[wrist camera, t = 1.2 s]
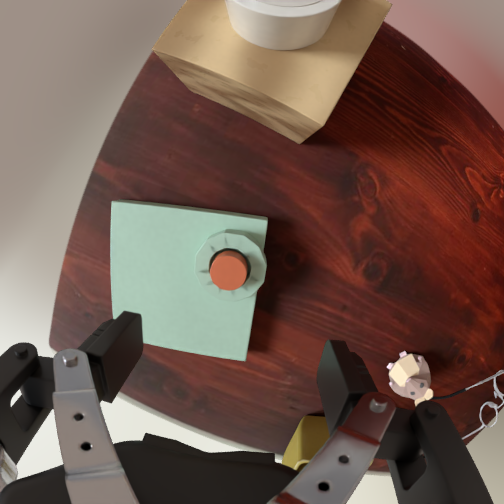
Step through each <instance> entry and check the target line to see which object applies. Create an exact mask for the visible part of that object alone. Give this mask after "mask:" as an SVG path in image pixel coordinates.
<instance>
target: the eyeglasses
mask: <svg viewBox="0 0 504 504" xmlns="http://www.w3.org/2000/svg"><path fill="white" fill-rule="evenodd" d="M500 371H501V372H500ZM500 371H499V373H498V372H497V373H498V374H497V373H496V374H495V375H494V376H491V377H489V378H487V379H485V380H483V381H481V382H479V383H477V384H475V385H473V386H477V385H479V384H481V383H483V382H486V381H488V380H490V379H492V378H494V388H495V390H496V392H497V393H496V392H495V391H494V395H495V398H497V397H496V395H497V394H498V395H497V396H499V397H501V399H502V398H503V396H504V394H502V393H500V392H499V390H498V388H497V386H496V376H498V375H500V374H502V373H504V370H500ZM473 386H471V387H473ZM471 387H469V388H471ZM469 388H464V389H462V390H460V391H457V392H455V393H453V394H450V395H447V396H443V397H432V398H430V399H445V398H449V397H452V396H455V395H457V394H459V393H462V392H464V391H466V390H467V389H469ZM430 399H429V400H430ZM425 400H426V399H425ZM502 400H503V399H502ZM486 403H487V404H488V405H489V406H490V407H492V406H493V407H492V408H495V410H496V415H497V417H498V412H497V408H499V407H500V406H502V405H503V403H504V400H503V403H502V404H501V405H500V406H499V407H497V404H494V403H493V402H486ZM486 403H484V404H483V406H482V407H481V411H482V408H483V407H484V406H485V405H486ZM494 405H495V406H494ZM481 411H480V420H481V422H482V424H483V425H482V426H481V427H480V428H479V429H477V430H475V431H474V432H472V433H470V434H468V435H467V436H465V437H463V438H462V440H463V439H465V438H466V437H468V436H470V435H472V434H474V433H475V432H477V431H479V430H480V429H482V428H483V427H484V426H485V427H491V426H486V425H485V424H484V423H483V421H482V419H481ZM497 417H496V421H497ZM496 421H495V423H496ZM495 423H494V424H495ZM423 458H425V456H423Z"/></svg>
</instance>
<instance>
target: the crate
mask: <svg viewBox="0 0 504 504" xmlns="http://www.w3.org/2000/svg"><path fill="white" fill-rule="evenodd" d="M391 6H392V4H391V3H389V2H388V1H386V0H343V1H342V3H341V5H340V7H339V9H338V11H337V13H336V15H335V17H334V19H333V21H332V23H331V25H330V27H329V29H328V31H327V32H326V34H325V35H324V36H323V37H322V38H321V39H320V40H318V41H317V42H315V43H314V44H311V45H309V46H307V47H304V48H300V49H295V50H273V49H267V48H264V47H260V46H257V45H255V44H252V43H251V42H249V41H247V40H245V39H244V38H242V37H241V36H240V35H239V34H238V33H237V32H236V31H235V30H234V29H233V27H232V26H231V24H230V22H229V19H228V15H227V11H226V7H225V2H224V0H187V1H186V2H185V4H184V5H183V6H182V7H181V9H180V10H179V11H178V13H177V14H176V16H175V17H174V18H173V19H172V21H171V22H170V23H169V25H168V26H167V27H166V29H165V30H164V32H163V33H162V35H161V36H160V37H159V39H158V41H157V42H156V43H155V45H154V46H153V48H152V50H153V51H154V52H155V53H156V54H157V55H158V56H159V57H160V58H161V60H162V61H163V62H164V63H165V64H166V65H167V66H168V67H169V68H170V69H171V70H172V71H173V72H174V73H175V74H176V76H177V77H178V78H179V79H180V80H181V81H182V82H183V83H184V84H185V85H186V87H187V88H188V89H189V90H190V91H192V92H195V93H197V94H199V95H202V96H204V97H206V98H209V99H211V100H213V101H215V102H218V103H220V104H222V105H224V106H226V107H229V108H231V109H233V110H235V111H237V112H239V113H241V114H243V115H245V116H247V117H249V118H251V119H253V120H255V121H257V122H259V123H261V124H263V125H265V126H267V127H269V128H271V129H273V130H275V131H276V132H278V133H280V134H282V135H284V136H286V137H287V138H289V139H291V140H293V141H295V142H296V143H298V144H300V143H302V142H303V141H304V140H306V139H307V138H308V137H310V136H311V135H312V134H314V133H315V132H316V131H318V130H319V129H320V128H322V127H323V126H324V125H325V123H326V121H327V120H328V118H329V116H330V114H331V113H332V111H333V109H334V107H335V106H336V104H337V102H338V100H339V98H340V97H341V95H342V93H343V91H344V90H345V88H346V86H347V84H348V83H349V81H350V79H351V77H352V75H353V74H354V72H355V70H356V68H357V67H358V65H359V63H360V61H361V60H362V58H363V56H364V54H365V52H366V51H367V49H368V47H369V45H370V44H371V42H372V40H373V38H374V36H375V35H376V33H377V31H378V29H379V28H380V26H381V24H382V22H383V21H384V19H385V17H386V15H387V13H388V12H389V10H390V8H391Z"/></svg>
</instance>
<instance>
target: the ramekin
mask: <svg viewBox="0 0 504 504" xmlns="http://www.w3.org/2000/svg"><path fill="white" fill-rule="evenodd" d="M342 1H343V0H224V2H225V7H226V11H227V15H228V19H229V22H230V24H231V26H232V27H233V29H234V30H235V31H236V32H237V33H238V34H239V35H240V36H241V37H242V38H244V39H245V40H247V41H249V42H251V43H252V44H255V45H257V46H260V47H264V48H267V49H273V50H295V49H300V48H304V47H307V46H309V45H311V44H314V43H315V42H317V41H318V40H320V39H321V38H322V37H323V36H324V35H325V34H326V32H327V31H328V29H329V27H330V25H331V23H332V21H333V19H334V17H335V15H336V13H337V11H338V9H339V7H340V5H341V3H342Z"/></svg>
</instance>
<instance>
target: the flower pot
mask: <svg viewBox="0 0 504 504" xmlns="http://www.w3.org/2000/svg"><path fill="white" fill-rule="evenodd" d="M329 437H330V435H329V431H328V426H327V422H326V418H325V417H320V416H304V417H303V418H302V419H301V421H300V423H299V425H298V427H297V429H296V431H295V433H294V435H293V437H292V439H291V441H290V443H289V445H288V447H287V449H286V451H285V454H284V456H283V460H282V464H283V465H286V466H289V467H291V468H293V469H295V470H297V471H298V472H301V470H302V469H303V468H304V467H305V466H306V465H307V464H308V463H309V461H310V460H311V459H312V458H313V457H314V456H315V454H316V453H317V452H318V451H319V450H320V448H321V447H322V446H323V445H324V443H325V442H326V441H327V440H328V438H329ZM372 462H373V460H372ZM372 462H371V464H372ZM371 464H370V465H371Z"/></svg>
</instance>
